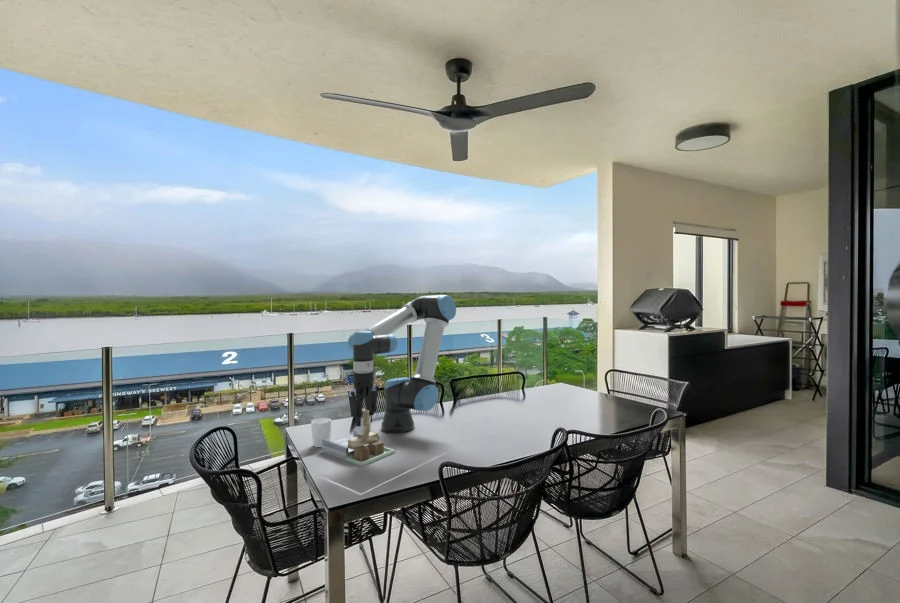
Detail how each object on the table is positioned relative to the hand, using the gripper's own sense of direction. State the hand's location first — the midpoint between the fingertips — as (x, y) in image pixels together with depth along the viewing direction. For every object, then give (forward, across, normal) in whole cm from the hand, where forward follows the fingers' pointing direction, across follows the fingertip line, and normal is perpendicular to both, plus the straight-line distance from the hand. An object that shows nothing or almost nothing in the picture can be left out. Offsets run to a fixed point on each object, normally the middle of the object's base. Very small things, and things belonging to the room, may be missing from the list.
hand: (364, 432), depth 150 cm
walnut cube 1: (+6, -4, -1) cm, 7 cm away
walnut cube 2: (+6, +4, -1) cm, 7 cm away
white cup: (+9, -3, +24) cm, 25 cm away
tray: (+9, 0, -4) cm, 9 cm away
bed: (+9, 0, +8) cm, 12 cm away
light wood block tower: (+4, 0, +1) cm, 4 cm away
